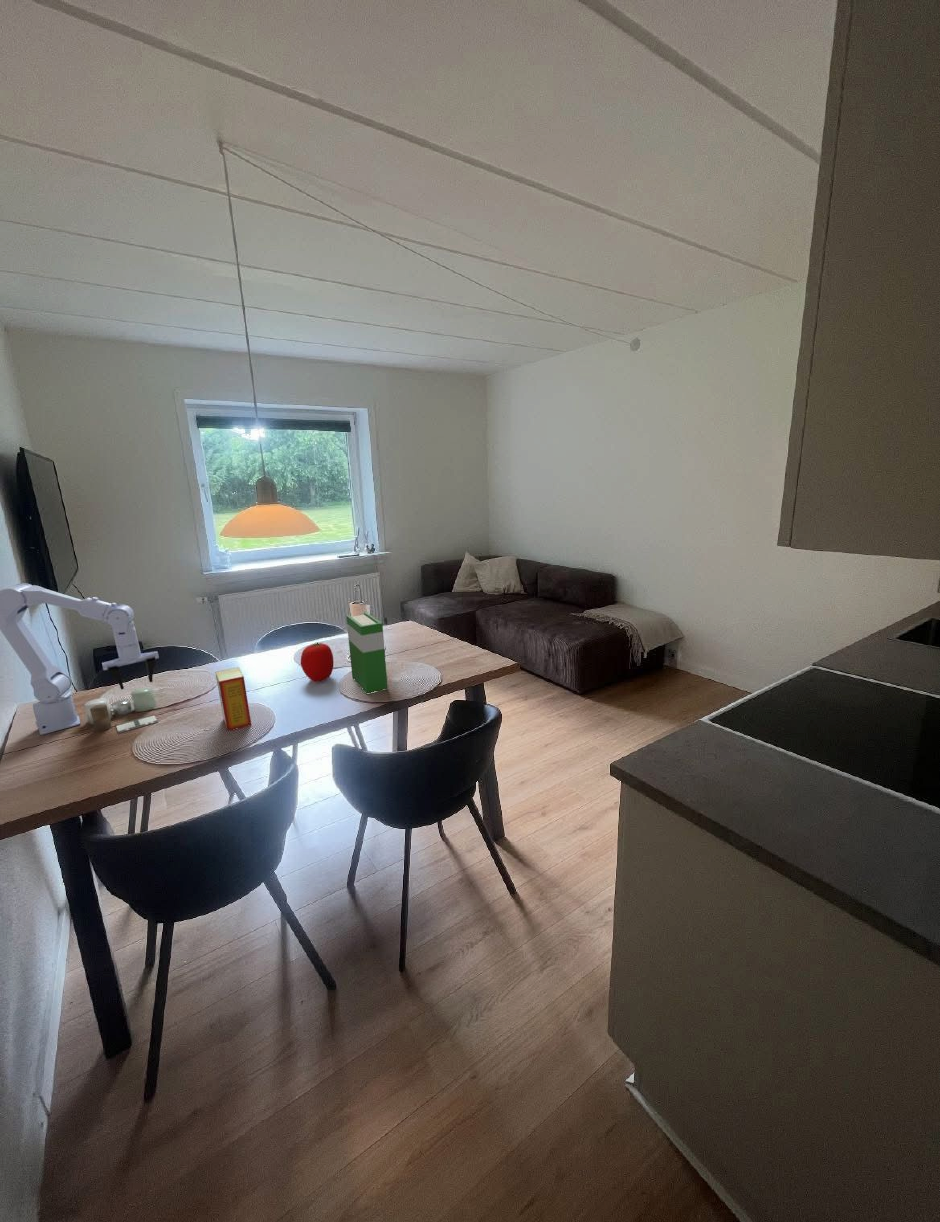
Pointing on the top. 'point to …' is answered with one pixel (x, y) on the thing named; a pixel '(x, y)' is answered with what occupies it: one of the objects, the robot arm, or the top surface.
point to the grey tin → (122, 707)
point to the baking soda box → (233, 698)
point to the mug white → (94, 703)
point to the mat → (136, 723)
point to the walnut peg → (100, 717)
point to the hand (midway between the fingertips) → (136, 684)
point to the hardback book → (367, 652)
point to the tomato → (317, 662)
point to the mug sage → (143, 699)
